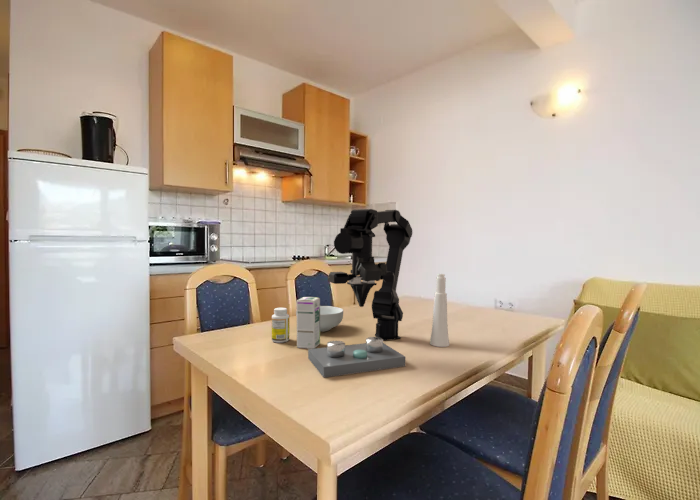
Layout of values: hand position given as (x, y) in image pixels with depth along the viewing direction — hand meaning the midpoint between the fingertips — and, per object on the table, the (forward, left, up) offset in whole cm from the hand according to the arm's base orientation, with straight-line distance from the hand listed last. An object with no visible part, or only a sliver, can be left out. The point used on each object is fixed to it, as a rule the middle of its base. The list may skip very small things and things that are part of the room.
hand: (361, 306), depth 102 cm
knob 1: (+10, +8, -14) cm, 19 cm away
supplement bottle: (+20, -18, -13) cm, 30 cm away
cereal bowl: (+4, -28, -13) cm, 31 cm away
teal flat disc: (+5, +11, -10) cm, 16 cm away
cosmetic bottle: (-26, +2, -13) cm, 29 cm away
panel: (+5, +8, -13) cm, 16 cm away
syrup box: (+13, -10, -13) cm, 21 cm away
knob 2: (-1, +8, -14) cm, 16 cm away
